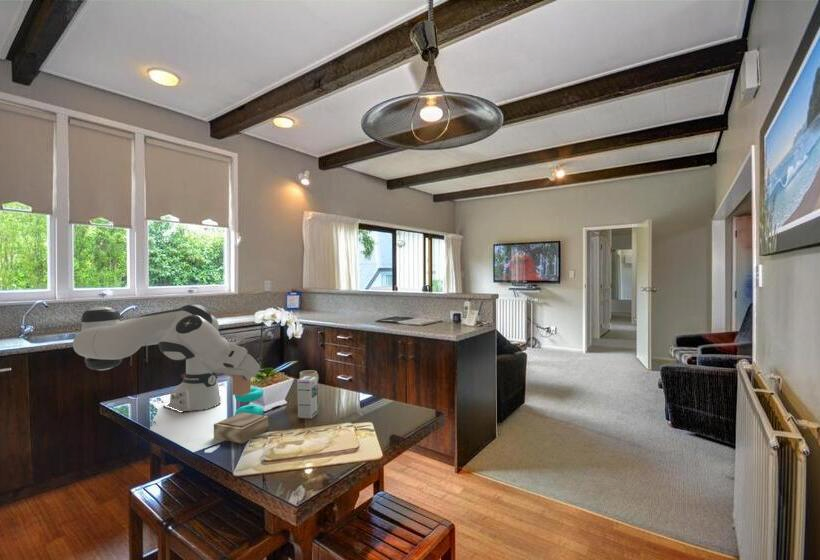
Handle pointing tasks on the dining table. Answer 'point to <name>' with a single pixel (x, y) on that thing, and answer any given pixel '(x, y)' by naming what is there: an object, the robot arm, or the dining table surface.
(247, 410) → the donuts
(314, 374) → the character mug
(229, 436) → the plinth
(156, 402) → the dining table surface
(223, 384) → the dining table surface
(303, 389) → the syrup box
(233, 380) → the terracotta block
